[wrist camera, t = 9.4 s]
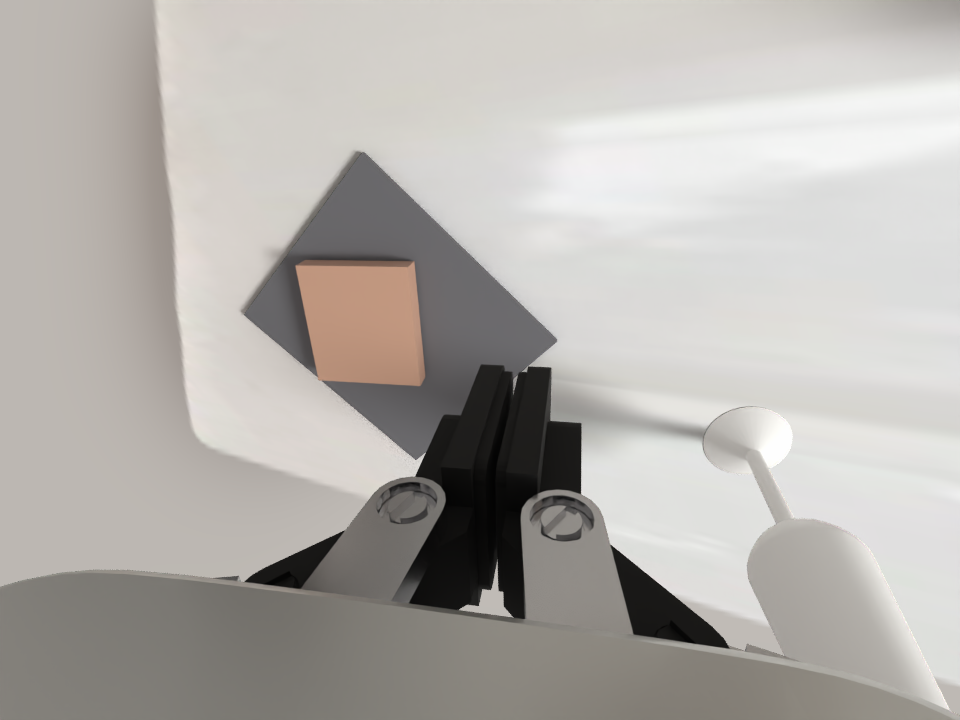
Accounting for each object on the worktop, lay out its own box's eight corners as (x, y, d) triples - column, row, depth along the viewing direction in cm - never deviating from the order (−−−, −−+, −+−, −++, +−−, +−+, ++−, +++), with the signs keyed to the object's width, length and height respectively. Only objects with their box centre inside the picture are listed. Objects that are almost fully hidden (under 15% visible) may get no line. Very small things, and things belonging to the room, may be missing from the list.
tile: (415, 260, 39) (307, 258, 41) (407, 267, 37) (295, 265, 39) (426, 375, 44) (328, 370, 45) (420, 386, 42) (318, 380, 43)
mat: (247, 312, 45) (243, 314, 44) (364, 152, 37) (361, 152, 36) (417, 456, 48) (416, 460, 48) (556, 339, 40) (556, 341, 40)
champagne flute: (711, 481, 44) (831, 833, 23) (694, 417, 41) (811, 743, 20) (798, 466, 42) (1020, 838, 21) (786, 397, 39) (1022, 740, 18)
